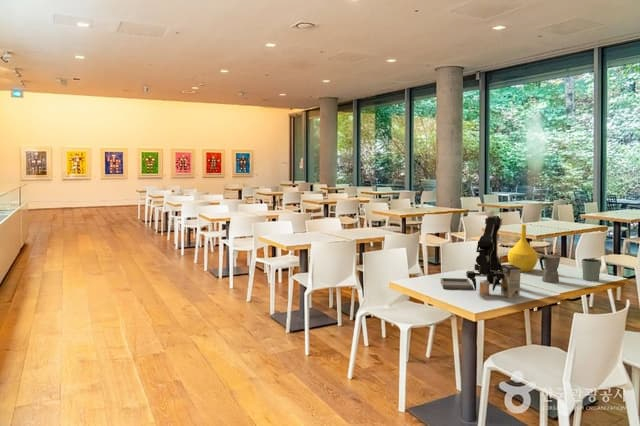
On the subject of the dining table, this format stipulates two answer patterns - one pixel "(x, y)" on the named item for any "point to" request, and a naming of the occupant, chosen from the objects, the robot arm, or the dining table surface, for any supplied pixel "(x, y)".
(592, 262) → the grey plant pot
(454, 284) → the tray
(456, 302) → the dining table surface
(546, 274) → the coffeepot
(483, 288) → the shaker
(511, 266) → the coffee box
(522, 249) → the vase
